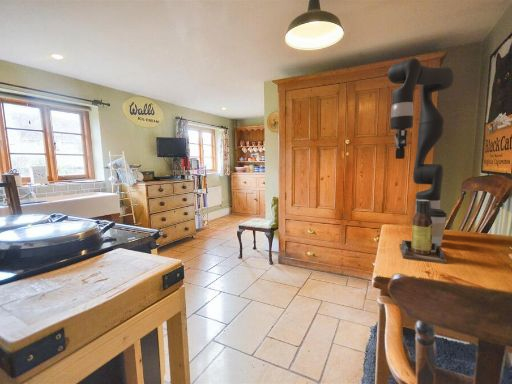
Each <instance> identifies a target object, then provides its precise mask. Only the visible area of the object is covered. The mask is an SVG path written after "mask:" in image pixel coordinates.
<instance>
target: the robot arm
mask: <svg viewBox="0 0 512 384" xmlns="http://www.w3.org/2000/svg"><path fill="white" fill-rule="evenodd" d="M387 78H388V80H389V81H390V82H391V84H396V85H401V86H399V87H397V88H395V89H394V90H393V91H392V95H391V110H390V124H389V129H390V130H392V131H396V133H395V134H394V149H395V159H396V160H402V159H403V160H404V159H405V152H406V148H407V144H408V143H407V142H408V140H407V139H408V130H409V129H412V128H413V126H414V109H415V108H414V93H415V89H416V86H418V85H419V86H420V112H419V113H420V114H419V122H418V129H417V130H418V132H417V145H416V146H417V147H416V155H415V161H414V166H413V173H412V174H413V175H412V180H413V182H414V183H415V184H416V185H431V187H430V188H428V189H426V190H422V191H418V192H416V194H415V202H416V201H417V200H429V201H430V204H429V208H432V209H440V210H441V193H442V182H443V179H444V178H443V177H444V167H443V166H442V164H441V163H425V160H426V159H427V155H428V154H429V153H430V151H431V150H432V149H433V148H434V146H435V145H436V144H437V143H439V141H440V139H441V138H442V136H443V134H444V133H443V132H444V123H445V122H444V117H443V115H442V114H441V112H440V111H439V109H438V108H437V107H436V106H435V104H434V102H433V98H432V94H433V93H436V92H440V91H444V90H447V89H449V88H450V87H452V85H453V84H454V79H455V78H454V71H453V70H452V69H451V67H449V66H448V67H447V66H446V67H431V66H426V65H422V64H421V62H420V60H419V59H418V58H415V57H413V58H409V59H406V60H404V61H400V62H397V63H395V64H392V65H391V66H390V67H389V69H388V72H387ZM414 208H415V209H414V210H415V211H414V215H415V214H416V212H417V211H416V210H417V204H416V203H415V207H414Z"/></svg>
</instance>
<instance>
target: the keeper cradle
mask: <svg viewBox="0 0 512 384" xmlns="http://www.w3.org/2000/svg"><path fill="white" fill-rule="evenodd" d="M401 241H402V242H401V243H399V245H398V246H399V250H400V253H401V256H402V259H405V260H412V261H413V260H414V261H422V262H427V263H428V262H430V263H436V264H437V263H439V264H444V265H445V264H446V265H447V264H448V261H447V259H446V257H445V252H444V251H443V249H442V248H441V246H439V245H438V244H437V243H432V246H431V253H430V254H429V255H420V254H416V253H414V252H412V240H404V239H403V240H401Z"/></svg>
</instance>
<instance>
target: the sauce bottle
mask: <svg viewBox="0 0 512 384" xmlns="http://www.w3.org/2000/svg"><path fill="white" fill-rule="evenodd" d="M416 204H417V210H416V211H417V212H416V214H415V213H414V215H413V217H412V225H411V241H412V252H414V253H416V254H420V255H429V254H430V253H431V246H432V219H431V216H430V214H429V204H430V201H429V200H417V201H416V200H415V205H416Z"/></svg>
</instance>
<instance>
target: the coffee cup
mask: <svg viewBox="0 0 512 384" xmlns="http://www.w3.org/2000/svg"><path fill="white" fill-rule="evenodd" d="M429 214H430V216H431V219H432V243H437V244H438V245H439V247H442V242H443V236H444V233H445V228H446V219H447V218H446V217H447V213H446V212H445V211H444V209H441V208H440V209H432V208H429Z"/></svg>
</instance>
